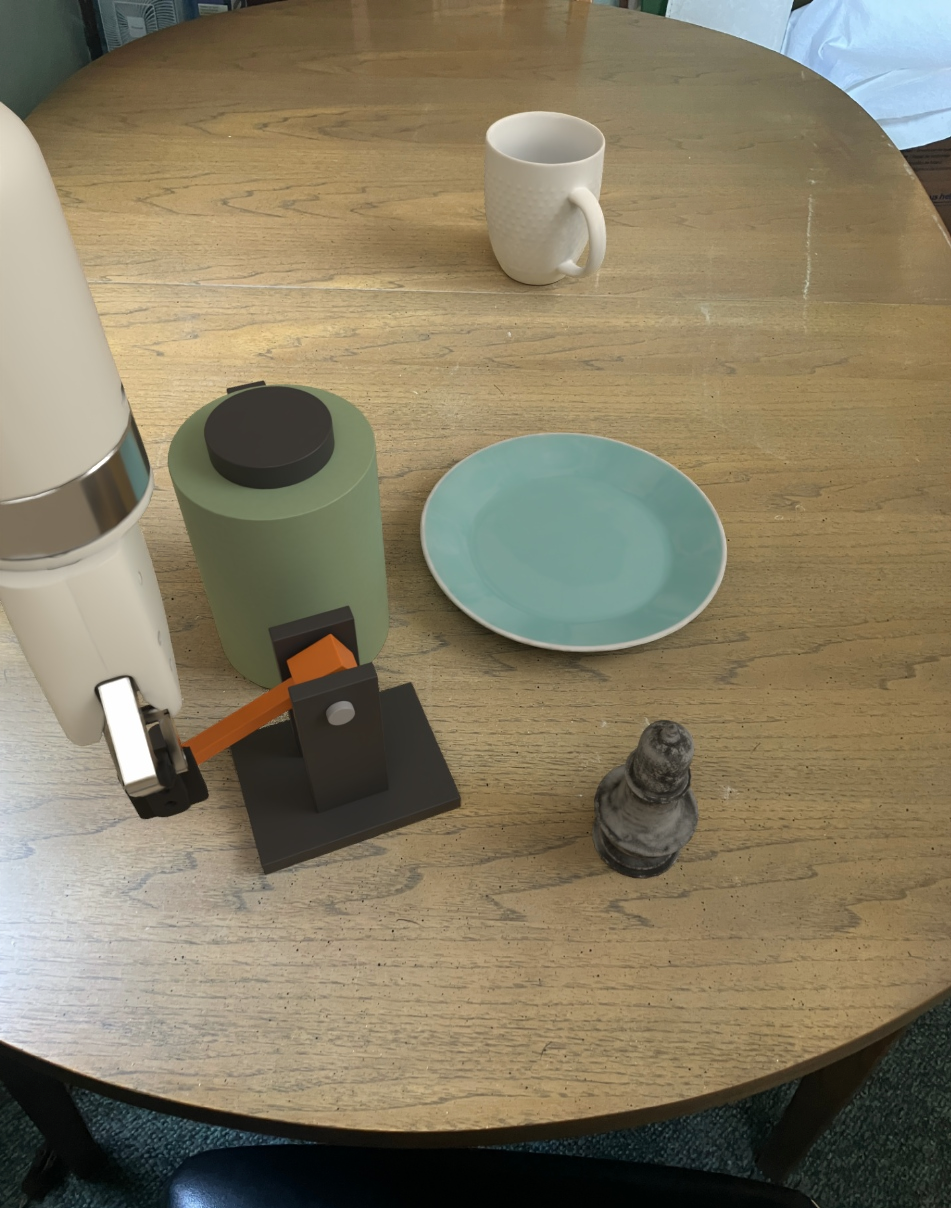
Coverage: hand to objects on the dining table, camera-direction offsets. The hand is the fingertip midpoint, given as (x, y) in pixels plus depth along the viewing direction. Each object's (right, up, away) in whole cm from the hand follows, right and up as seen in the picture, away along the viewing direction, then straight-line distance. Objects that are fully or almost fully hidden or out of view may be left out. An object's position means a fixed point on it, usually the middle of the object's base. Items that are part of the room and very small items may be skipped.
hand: (158, 723), depth 48 cm
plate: (+23, +10, +23) cm, 34 cm away
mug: (+23, +39, +48) cm, 66 cm away
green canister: (+4, +5, +18) cm, 19 cm away
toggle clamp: (+8, -5, +11) cm, 14 cm away
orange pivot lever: (+5, -1, +4) cm, 6 cm away
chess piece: (+26, -8, +9) cm, 28 cm away
